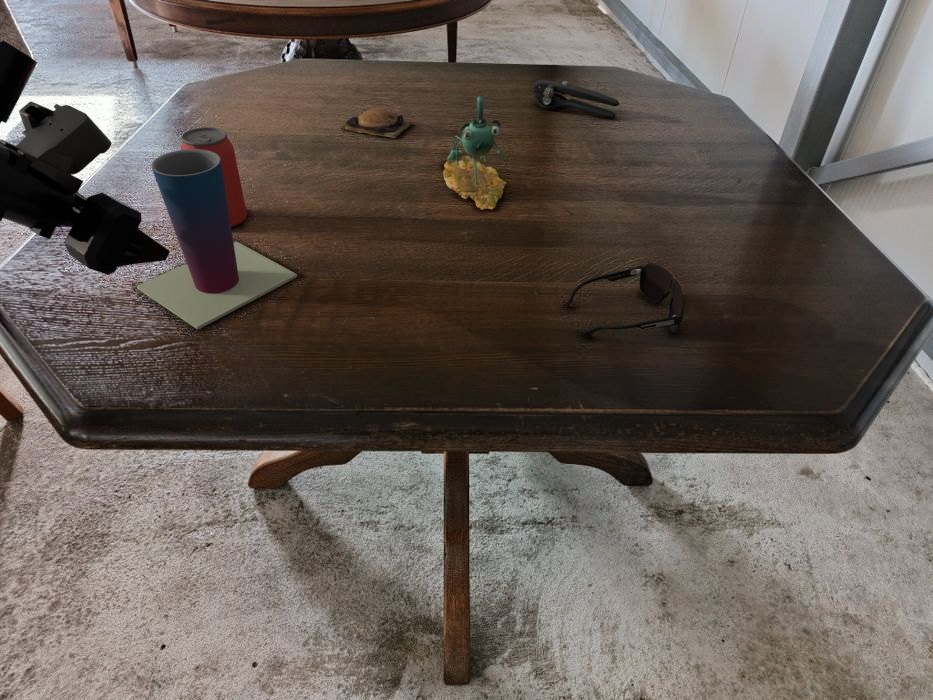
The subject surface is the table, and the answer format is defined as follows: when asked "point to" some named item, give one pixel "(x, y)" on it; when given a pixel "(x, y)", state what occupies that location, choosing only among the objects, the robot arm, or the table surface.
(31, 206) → the robot arm
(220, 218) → the cup
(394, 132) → the bread roll
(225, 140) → the beer can
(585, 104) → the can opener
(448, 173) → the frog figurine
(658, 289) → the sunglasses
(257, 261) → the mat
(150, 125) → the table surface
